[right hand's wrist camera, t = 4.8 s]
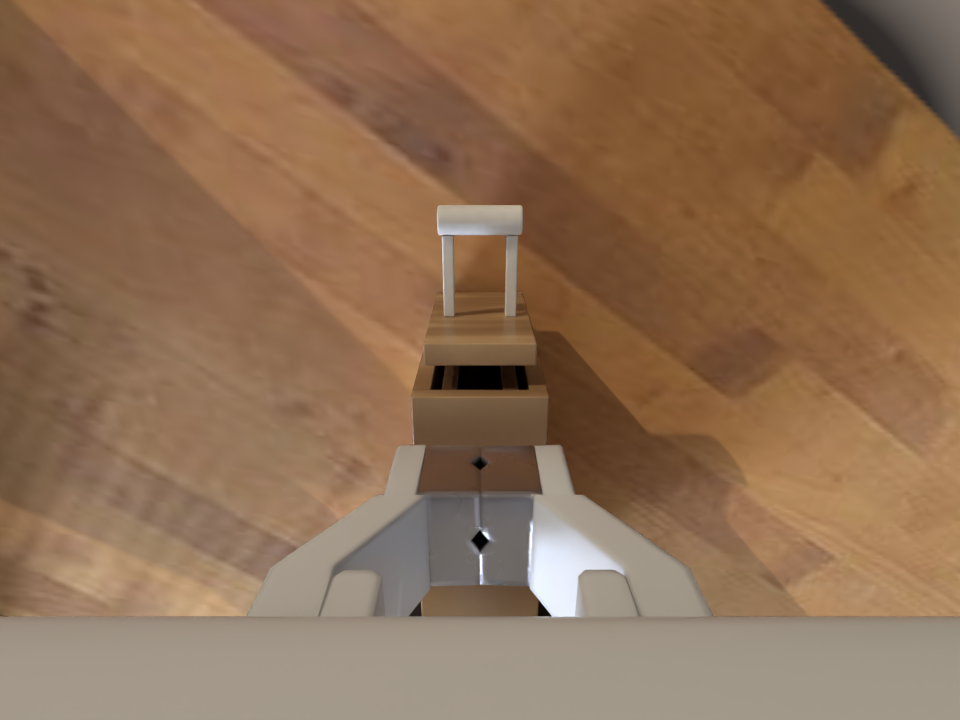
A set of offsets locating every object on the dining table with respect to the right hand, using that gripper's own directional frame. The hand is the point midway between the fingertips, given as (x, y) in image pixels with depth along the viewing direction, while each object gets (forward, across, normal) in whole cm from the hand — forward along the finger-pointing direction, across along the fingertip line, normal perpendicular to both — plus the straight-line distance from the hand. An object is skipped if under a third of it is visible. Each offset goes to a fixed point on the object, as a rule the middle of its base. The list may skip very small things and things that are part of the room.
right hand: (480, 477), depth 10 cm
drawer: (+26, 0, +10) cm, 28 cm away
